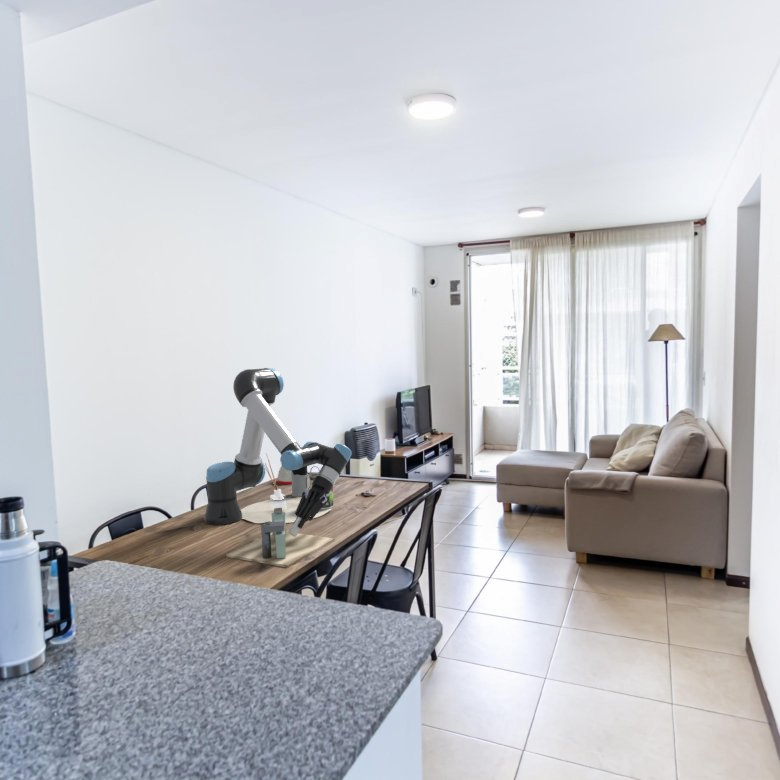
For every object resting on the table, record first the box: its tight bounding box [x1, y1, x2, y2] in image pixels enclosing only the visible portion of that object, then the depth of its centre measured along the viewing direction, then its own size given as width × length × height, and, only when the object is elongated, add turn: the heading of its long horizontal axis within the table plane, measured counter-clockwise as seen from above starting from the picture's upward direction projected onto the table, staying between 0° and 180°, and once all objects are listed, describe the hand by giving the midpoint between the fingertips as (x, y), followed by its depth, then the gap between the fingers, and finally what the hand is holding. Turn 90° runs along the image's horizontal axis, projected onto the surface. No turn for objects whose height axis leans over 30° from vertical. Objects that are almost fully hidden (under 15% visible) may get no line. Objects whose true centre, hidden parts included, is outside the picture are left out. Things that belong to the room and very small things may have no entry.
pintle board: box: [225, 507, 336, 568], centre depth 203 cm, size 26×28×11 cm
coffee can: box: [308, 473, 335, 511], centre depth 256 cm, size 10×10×14 cm
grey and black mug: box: [291, 465, 320, 498], centre depth 279 cm, size 9×14×15 cm, turn 87°
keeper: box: [260, 521, 285, 559], centre depth 193 cm, size 8×5×12 cm, turn 98°
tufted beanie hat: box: [277, 465, 292, 486], centre depth 308 cm, size 14×14×15 cm
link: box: [271, 511, 287, 558], centre depth 205 cm, size 28×5×8 cm, turn 12°
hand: (292, 534), depth 209 cm, fingers closed
